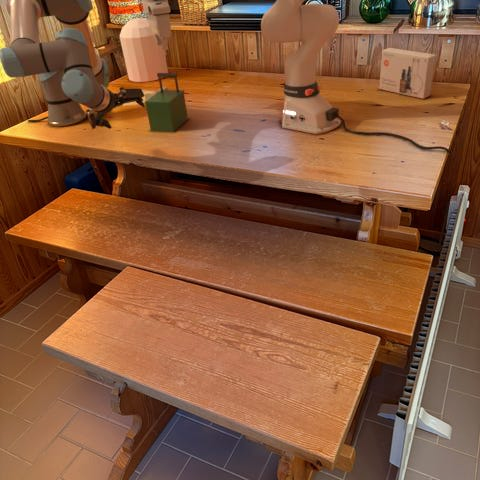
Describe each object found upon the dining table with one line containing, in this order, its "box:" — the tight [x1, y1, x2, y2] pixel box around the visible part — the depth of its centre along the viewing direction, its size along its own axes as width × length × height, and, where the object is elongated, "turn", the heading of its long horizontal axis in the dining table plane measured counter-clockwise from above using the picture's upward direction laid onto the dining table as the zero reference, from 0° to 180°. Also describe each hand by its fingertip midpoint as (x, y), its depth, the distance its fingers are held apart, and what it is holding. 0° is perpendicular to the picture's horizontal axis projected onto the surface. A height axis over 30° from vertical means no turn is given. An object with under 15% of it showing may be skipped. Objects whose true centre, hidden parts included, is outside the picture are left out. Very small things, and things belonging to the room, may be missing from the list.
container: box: [119, 17, 169, 83], centre depth 235 cm, size 21×21×28 cm
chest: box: [145, 93, 189, 133], centre depth 178 cm, size 13×10×10 cm
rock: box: [144, 85, 169, 101], centre depth 206 cm, size 11×6×10 cm
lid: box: [144, 72, 185, 105], centre depth 173 cm, size 14×10×8 cm
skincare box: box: [378, 47, 437, 100], centre depth 184 cm, size 21×6×16 cm, turn 40°
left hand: (125, 114), depth 156 cm, fingers open, 13 cm apart
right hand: (162, 47), depth 169 cm, fingers open, 8 cm apart
